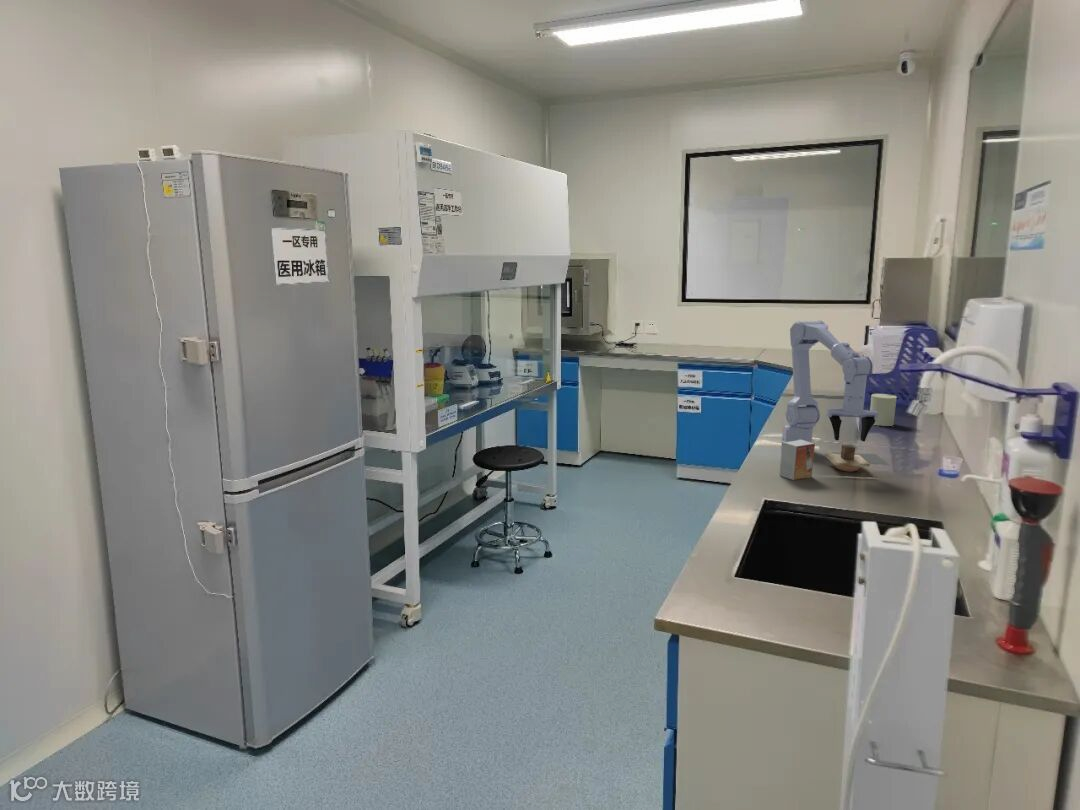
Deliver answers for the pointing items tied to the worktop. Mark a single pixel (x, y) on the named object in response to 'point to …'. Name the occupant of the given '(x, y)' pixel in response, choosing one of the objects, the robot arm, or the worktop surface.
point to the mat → (870, 458)
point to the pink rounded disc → (847, 468)
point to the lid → (847, 457)
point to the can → (883, 408)
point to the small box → (797, 459)
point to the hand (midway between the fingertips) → (849, 440)
